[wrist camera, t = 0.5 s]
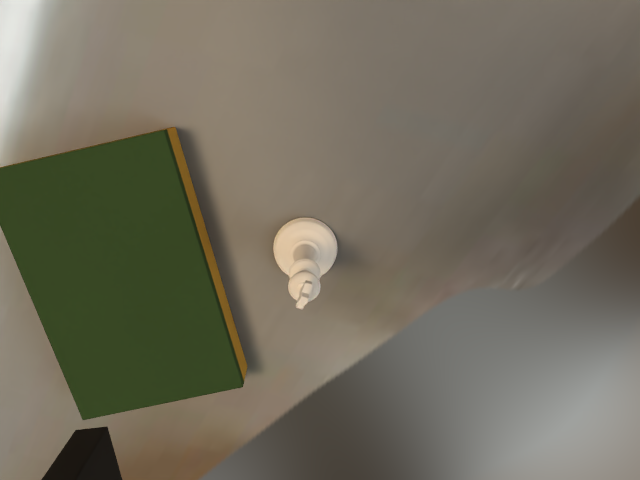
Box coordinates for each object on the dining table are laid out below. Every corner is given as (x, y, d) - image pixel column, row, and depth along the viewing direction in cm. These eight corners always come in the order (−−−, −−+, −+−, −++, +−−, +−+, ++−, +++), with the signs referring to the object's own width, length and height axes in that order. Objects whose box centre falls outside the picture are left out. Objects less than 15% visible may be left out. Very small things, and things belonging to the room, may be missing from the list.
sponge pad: (3, 166, 37) (-23, 173, 34) (175, 126, 36) (163, 129, 33) (98, 397, 42) (82, 420, 40) (247, 366, 42) (243, 387, 39)
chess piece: (346, 230, 39) (358, 276, 29) (323, 286, 40) (328, 348, 30) (285, 208, 38) (277, 248, 28) (264, 266, 39) (250, 323, 30)
